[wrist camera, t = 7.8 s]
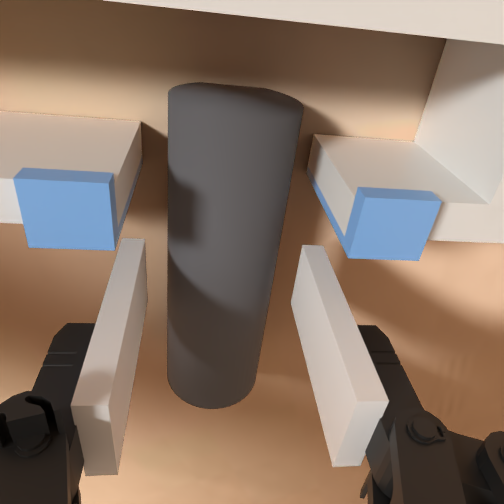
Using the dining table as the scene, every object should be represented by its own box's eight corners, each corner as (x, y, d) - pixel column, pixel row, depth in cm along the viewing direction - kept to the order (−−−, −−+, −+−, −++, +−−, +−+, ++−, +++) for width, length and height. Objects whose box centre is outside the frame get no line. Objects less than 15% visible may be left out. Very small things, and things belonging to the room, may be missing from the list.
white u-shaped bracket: (-356, 133, 13) (-667, 224, 8) (-558, -154, 9) (-1296, -271, 5) (430, 180, 16) (518, 264, 12) (501, -15, 13) (668, -5, 8)
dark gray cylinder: (253, 340, 21) (258, 410, 18) (172, 336, 20) (161, 407, 17) (294, 89, 14) (314, 126, 11) (175, 77, 14) (159, 110, 11)
